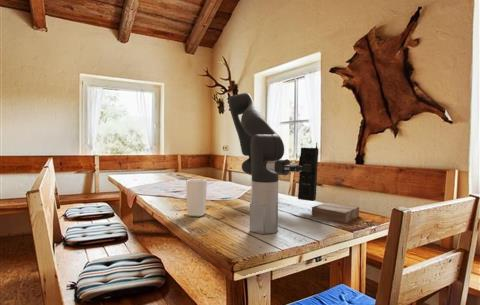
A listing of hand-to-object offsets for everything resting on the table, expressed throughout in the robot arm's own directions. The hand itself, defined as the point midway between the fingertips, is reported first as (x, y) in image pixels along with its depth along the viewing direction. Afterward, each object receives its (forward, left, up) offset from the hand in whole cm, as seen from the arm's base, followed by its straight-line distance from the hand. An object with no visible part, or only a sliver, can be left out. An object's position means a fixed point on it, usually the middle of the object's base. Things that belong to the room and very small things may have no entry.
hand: (311, 169), depth 127 cm
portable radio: (0, +3, -14) cm, 14 cm away
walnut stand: (+2, -10, -19) cm, 22 cm away
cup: (-36, +33, -19) cm, 53 cm away
